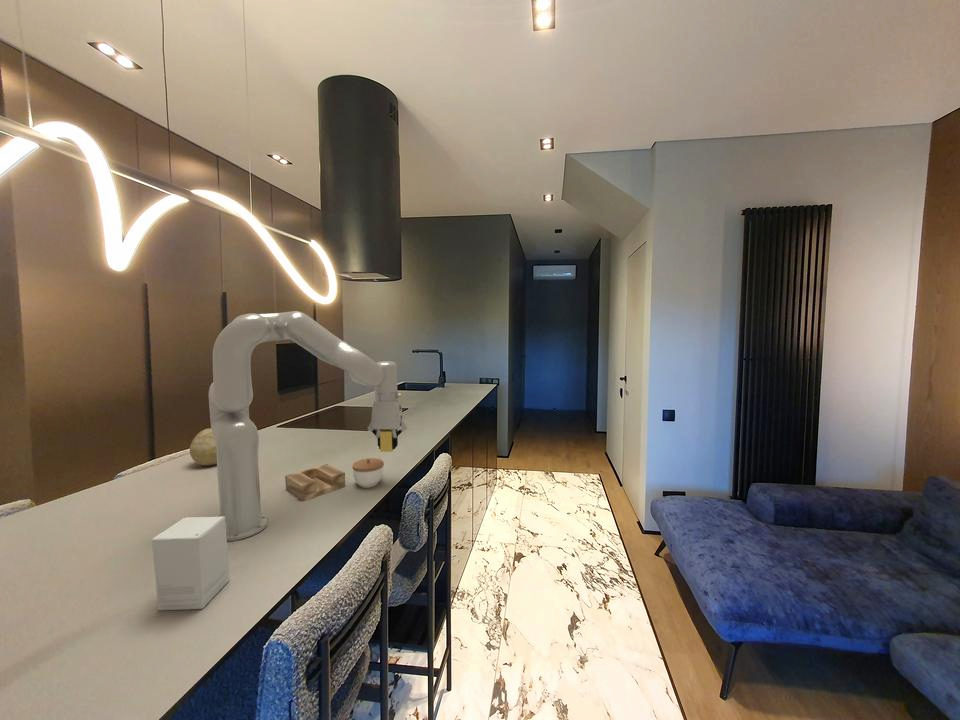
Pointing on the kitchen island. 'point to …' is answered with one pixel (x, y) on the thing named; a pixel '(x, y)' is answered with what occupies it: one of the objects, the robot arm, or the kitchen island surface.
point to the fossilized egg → (204, 448)
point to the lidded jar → (368, 472)
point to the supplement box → (190, 562)
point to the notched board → (314, 481)
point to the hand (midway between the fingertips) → (387, 447)
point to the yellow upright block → (386, 440)
